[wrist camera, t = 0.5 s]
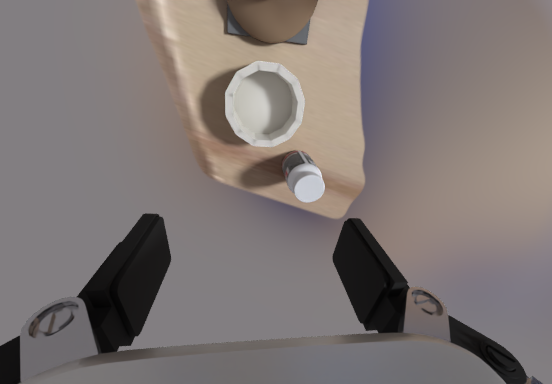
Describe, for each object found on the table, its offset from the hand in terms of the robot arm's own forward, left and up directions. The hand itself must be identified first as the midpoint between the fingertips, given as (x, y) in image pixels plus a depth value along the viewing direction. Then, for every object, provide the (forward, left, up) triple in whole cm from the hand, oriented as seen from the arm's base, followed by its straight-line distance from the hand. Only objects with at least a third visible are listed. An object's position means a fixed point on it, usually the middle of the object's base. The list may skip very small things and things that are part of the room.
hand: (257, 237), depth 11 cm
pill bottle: (+6, +9, -28) cm, 30 cm away
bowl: (-4, +2, -28) cm, 28 cm away
